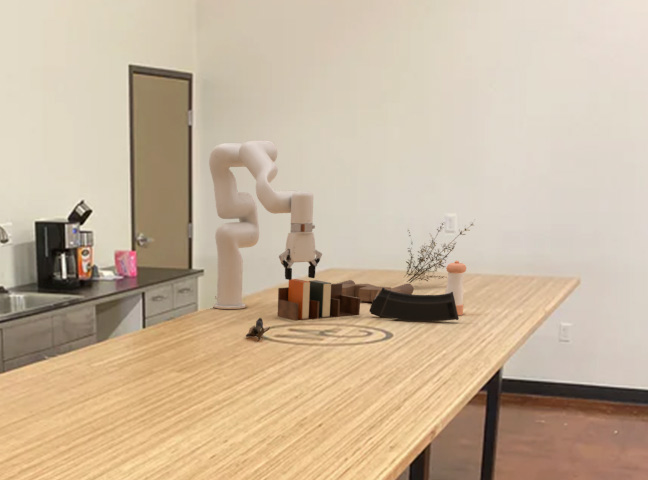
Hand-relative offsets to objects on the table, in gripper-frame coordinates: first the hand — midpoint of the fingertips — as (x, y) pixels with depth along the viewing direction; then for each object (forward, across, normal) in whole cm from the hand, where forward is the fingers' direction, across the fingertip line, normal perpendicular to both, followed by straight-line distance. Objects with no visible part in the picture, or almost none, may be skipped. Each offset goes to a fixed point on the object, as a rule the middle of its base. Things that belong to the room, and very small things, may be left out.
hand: (300, 278), depth 375 cm
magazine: (+15, -34, +22) cm, 43 cm away
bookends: (+14, -56, -36) cm, 68 cm away
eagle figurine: (+15, +34, +28) cm, 46 cm away
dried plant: (+14, -104, -56) cm, 118 cm away
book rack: (+14, -9, 0) cm, 17 cm away
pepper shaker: (+15, -57, +16) cm, 61 cm away
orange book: (+14, 0, 0) cm, 14 cm away
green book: (+14, -9, 0) cm, 16 cm away
